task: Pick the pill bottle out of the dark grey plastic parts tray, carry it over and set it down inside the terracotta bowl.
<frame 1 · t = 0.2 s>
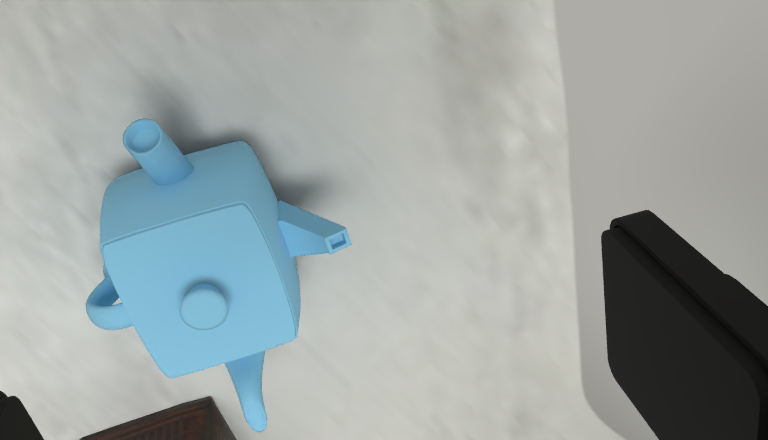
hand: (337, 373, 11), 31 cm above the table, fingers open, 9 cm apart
teapot: (221, 215, 43), on the table
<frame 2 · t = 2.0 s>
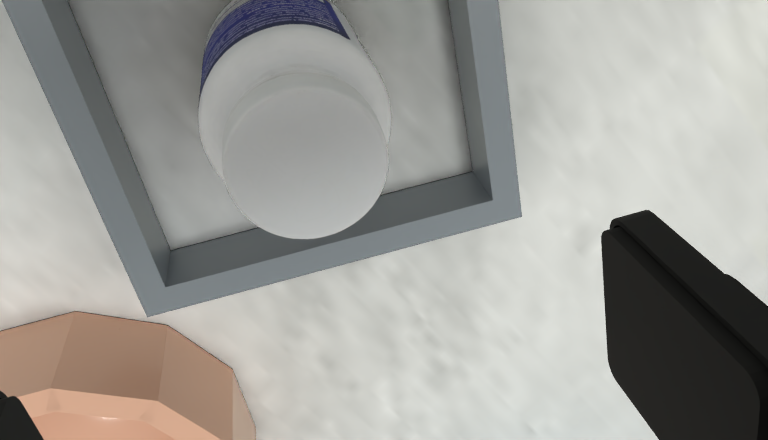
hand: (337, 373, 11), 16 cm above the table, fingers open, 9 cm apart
pill bottle: (282, 60, 25), resting in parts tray
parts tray: (283, 62, 24), on the table
bowl: (96, 439, 31), on the table
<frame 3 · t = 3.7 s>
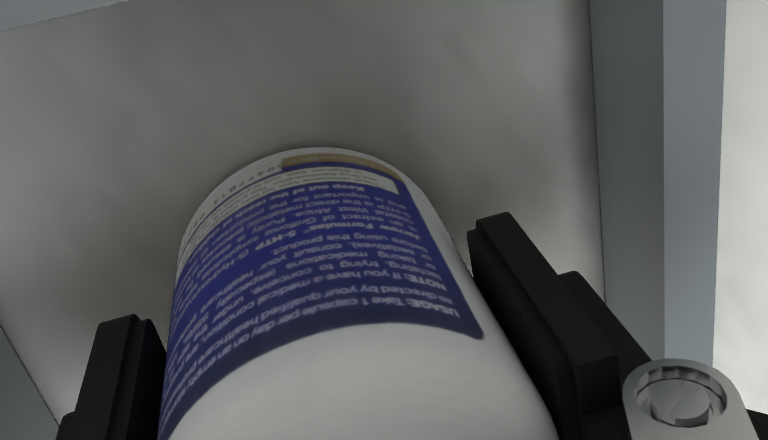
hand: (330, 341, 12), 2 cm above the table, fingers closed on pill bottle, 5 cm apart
pill bottle: (314, 260, 14), resting in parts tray, touching gripper
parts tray: (315, 265, 14), on the table
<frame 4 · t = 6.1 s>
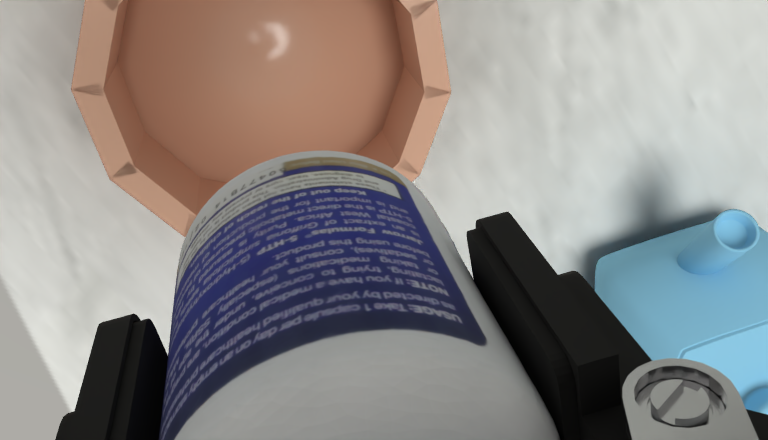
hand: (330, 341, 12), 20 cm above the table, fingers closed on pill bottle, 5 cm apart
pill bottle: (315, 263, 14), point 17 cm above the table, touching gripper
teapot: (668, 290, 40), on the table
bowl: (265, 58, 29), on the table
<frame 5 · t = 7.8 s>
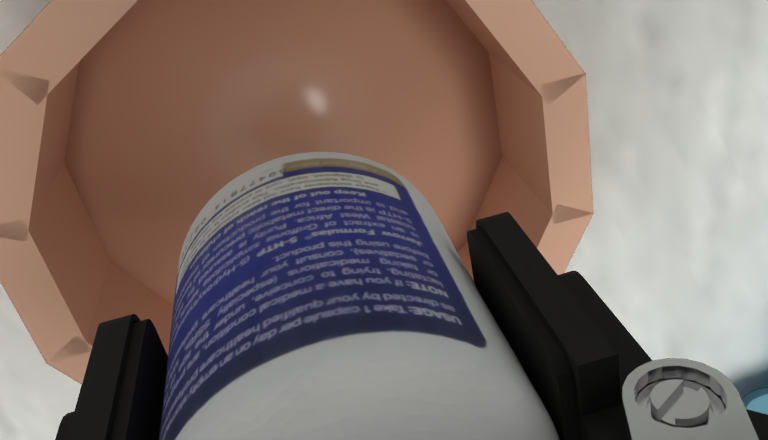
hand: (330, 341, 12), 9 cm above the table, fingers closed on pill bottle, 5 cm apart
pill bottle: (315, 264, 14), point 6 cm above the table, touching gripper
bowl: (293, 147, 19), on the table
when the fingers open (4 cm above the table, at t = 8.9 s): pill bottle drops 1 cm, resting on bowl.
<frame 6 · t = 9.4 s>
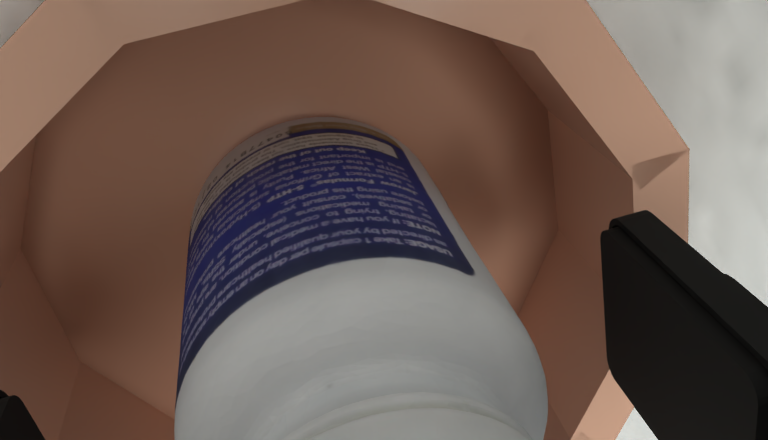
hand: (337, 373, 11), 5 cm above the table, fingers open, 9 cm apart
pill bottle: (317, 226, 15), point 1 cm above the table, touching bowl
bowl: (305, 221, 16), on the table
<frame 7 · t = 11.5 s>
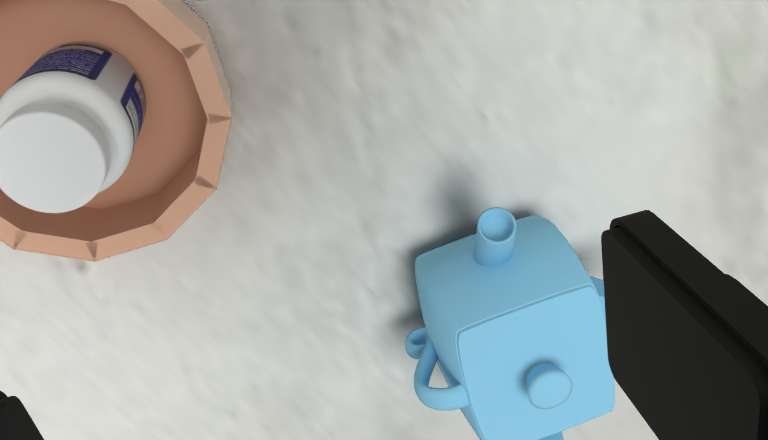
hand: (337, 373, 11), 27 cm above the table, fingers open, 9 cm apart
pill bottle: (90, 95, 34), point 1 cm above the table, touching bowl
teapot: (496, 284, 44), on the table
bowl: (88, 95, 35), on the table
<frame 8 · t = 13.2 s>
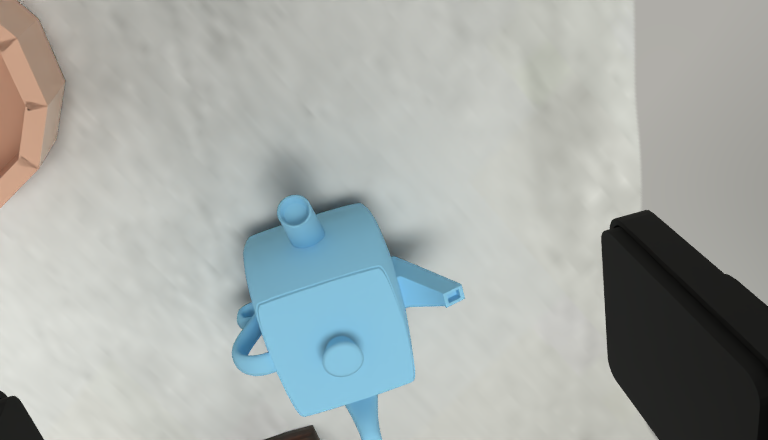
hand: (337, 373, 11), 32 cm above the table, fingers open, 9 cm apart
teapot: (333, 265, 48), on the table
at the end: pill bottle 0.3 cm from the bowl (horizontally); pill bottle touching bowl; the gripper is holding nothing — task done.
